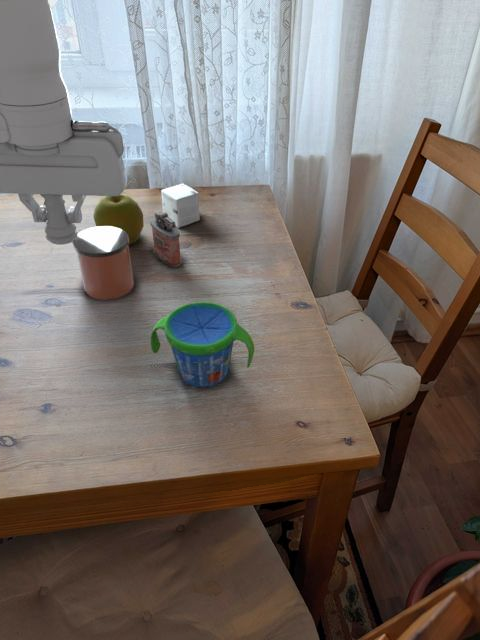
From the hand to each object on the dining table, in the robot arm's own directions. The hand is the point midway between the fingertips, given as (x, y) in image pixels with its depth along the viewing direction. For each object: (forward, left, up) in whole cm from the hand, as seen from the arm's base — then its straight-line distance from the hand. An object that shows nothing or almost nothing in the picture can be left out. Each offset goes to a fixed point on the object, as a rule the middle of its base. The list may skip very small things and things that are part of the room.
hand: (58, 220), depth 74 cm
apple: (+2, +30, -21) cm, 37 cm away
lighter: (+12, +23, -21) cm, 34 cm away
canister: (+2, +13, -21) cm, 25 cm away
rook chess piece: (0, 0, -3) cm, 3 cm away
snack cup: (+20, -10, -21) cm, 31 cm away
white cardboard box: (+14, +39, -21) cm, 47 cm away
